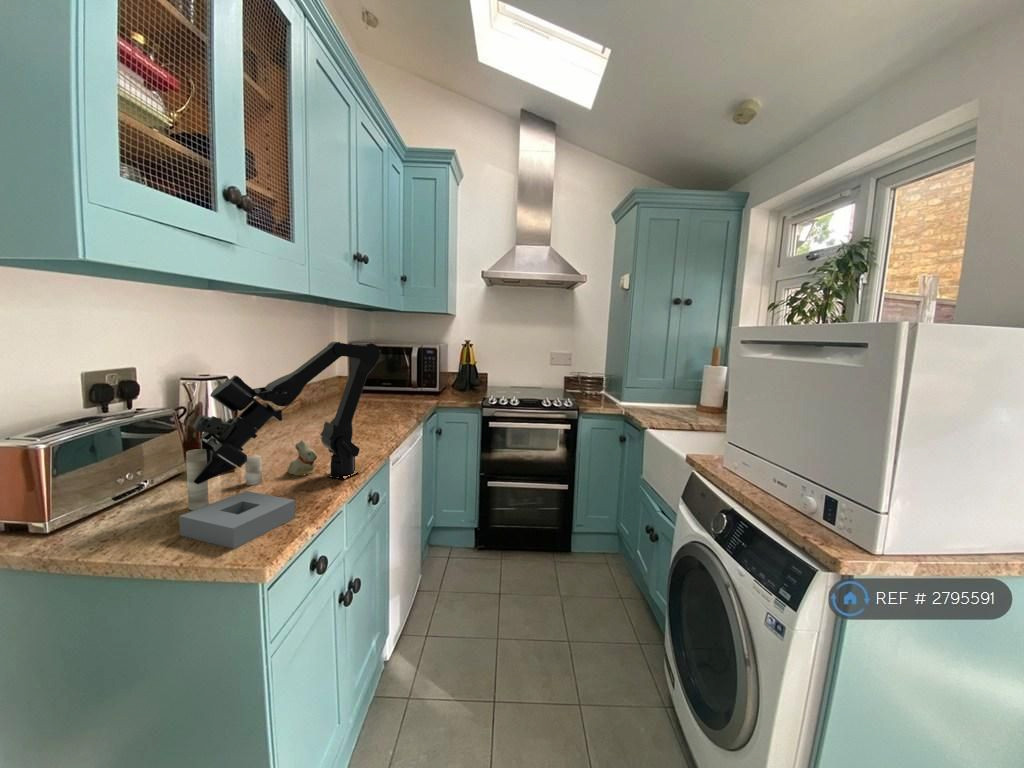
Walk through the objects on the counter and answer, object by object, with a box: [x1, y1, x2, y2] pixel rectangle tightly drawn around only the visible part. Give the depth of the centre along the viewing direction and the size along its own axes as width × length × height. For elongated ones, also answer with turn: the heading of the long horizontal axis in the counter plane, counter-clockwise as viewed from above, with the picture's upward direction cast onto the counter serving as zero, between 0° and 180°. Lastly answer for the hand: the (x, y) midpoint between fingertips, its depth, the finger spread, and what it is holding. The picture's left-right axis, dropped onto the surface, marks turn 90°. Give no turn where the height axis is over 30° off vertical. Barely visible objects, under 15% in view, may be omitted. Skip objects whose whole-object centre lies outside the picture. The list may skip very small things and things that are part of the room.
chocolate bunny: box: [286, 439, 318, 476], centre depth 113 cm, size 6×8×10 cm
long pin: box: [185, 448, 210, 511], centre depth 89 cm, size 4×4×13 cm
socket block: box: [178, 490, 296, 550], centre depth 81 cm, size 14×14×4 cm
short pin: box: [244, 455, 263, 486], centre depth 105 cm, size 4×4×7 cm
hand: (192, 477), depth 88 cm, fingers open, 9 cm apart
